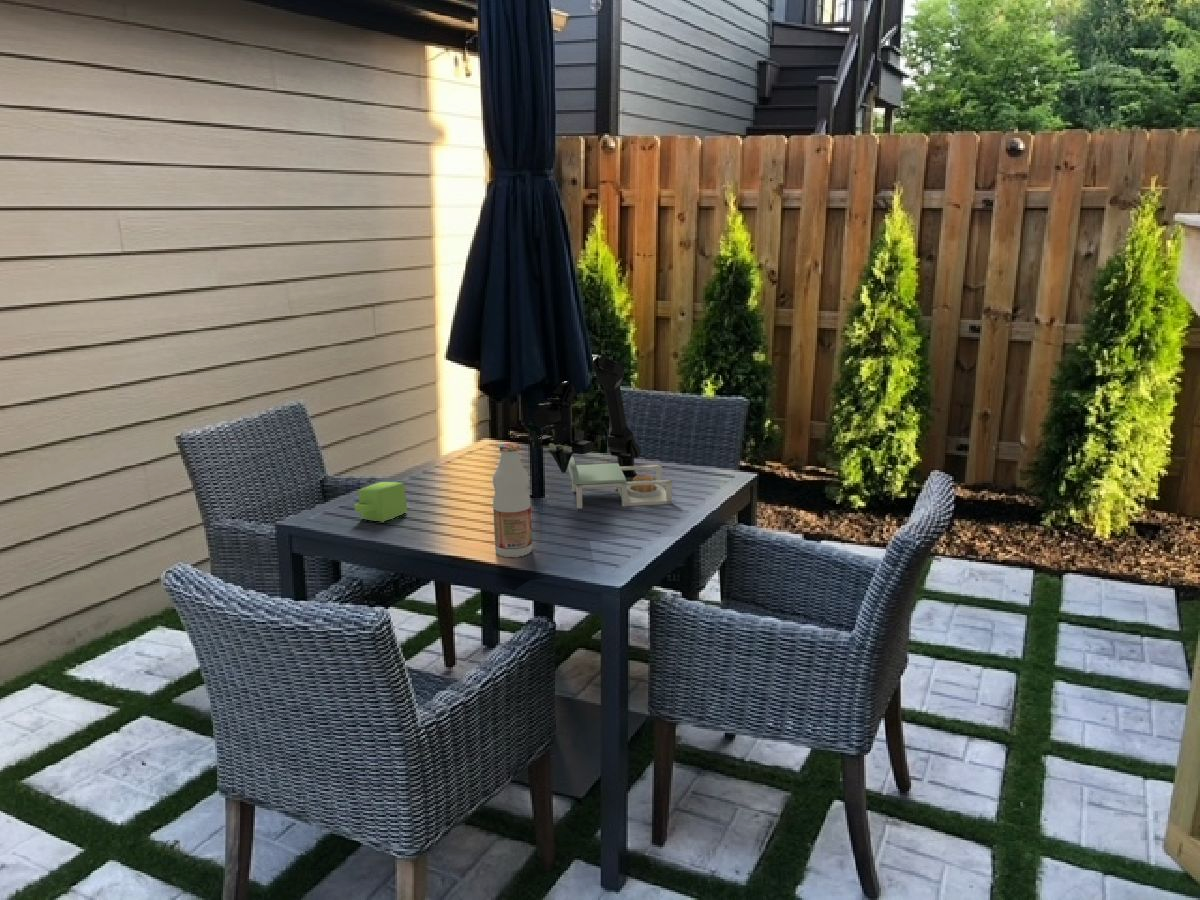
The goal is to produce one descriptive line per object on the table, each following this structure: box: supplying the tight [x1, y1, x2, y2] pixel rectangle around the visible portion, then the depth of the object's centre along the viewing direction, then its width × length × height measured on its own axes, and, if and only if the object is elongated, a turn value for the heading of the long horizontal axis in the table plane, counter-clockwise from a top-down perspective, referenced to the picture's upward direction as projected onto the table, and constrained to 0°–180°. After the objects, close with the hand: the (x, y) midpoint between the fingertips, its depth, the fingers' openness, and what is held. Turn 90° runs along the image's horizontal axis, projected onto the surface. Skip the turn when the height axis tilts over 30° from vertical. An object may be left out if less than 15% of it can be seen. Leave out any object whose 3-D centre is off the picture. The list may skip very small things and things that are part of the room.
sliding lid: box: [567, 455, 627, 484], centre depth 285 cm, size 19×16×4 cm
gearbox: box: [353, 481, 408, 523], centre depth 273 cm, size 18×10×10 cm, turn 153°
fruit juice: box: [492, 442, 533, 558], centre depth 239 cm, size 9×9×28 cm
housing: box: [571, 464, 673, 509], centre depth 287 cm, size 19×28×7 cm
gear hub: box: [632, 474, 655, 492], centre depth 288 cm, size 6×6×5 cm
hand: (563, 472), depth 284 cm, fingers closed
